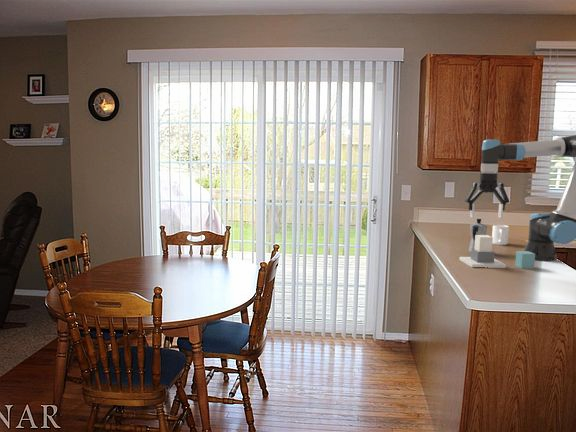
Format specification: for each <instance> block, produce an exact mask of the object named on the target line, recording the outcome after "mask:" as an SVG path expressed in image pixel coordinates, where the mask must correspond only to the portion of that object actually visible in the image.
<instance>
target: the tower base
mask: <svg viewBox="0 0 576 432" xmlns="http://www.w3.org/2000/svg"><path fill="white" fill-rule="evenodd" d="M495 254H496V252H494V251H493V250H492V252H479V251H477V250H475V249H471V252H470V256H459V261H460V262H462V263H464V264H466V265H467V266H468V267H470V268H472V267H485V268H484V269H486V268H487V267H488V268H489V269H490V268H491V269H493V268H494V269H495V268H497V269H506V268H507V264H505V263H504V262H502V261H500V260H497V259H496V258H495ZM488 268H487V269H488Z"/></svg>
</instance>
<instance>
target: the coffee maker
mask: <svg viewBox="0 0 576 432" xmlns="http://www.w3.org/2000/svg"><path fill="white" fill-rule="evenodd" d="M481 222H482V218H476V223H471V224H470V225H469V226H470V227H469V228H470V237H471V239H470V242H469V248H468V252H469V253H471V249H474V247H475V235H487V228H488V226H487V224H484V223H481Z"/></svg>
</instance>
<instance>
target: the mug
mask: <svg viewBox="0 0 576 432" xmlns="http://www.w3.org/2000/svg"><path fill="white" fill-rule="evenodd" d="M509 228H510V226H509V225H505V224H493V225H492V232H491V233H492V234H491V237H493V243H492V245H497V246H506V245H508V240H509V230H510V229H509Z"/></svg>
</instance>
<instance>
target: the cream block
mask: <svg viewBox="0 0 576 432" xmlns="http://www.w3.org/2000/svg"><path fill="white" fill-rule="evenodd" d="M474 249H475V250H477V251H479V252H492V251H493V237H492V235H488V234H486V235H475V247H474Z"/></svg>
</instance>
